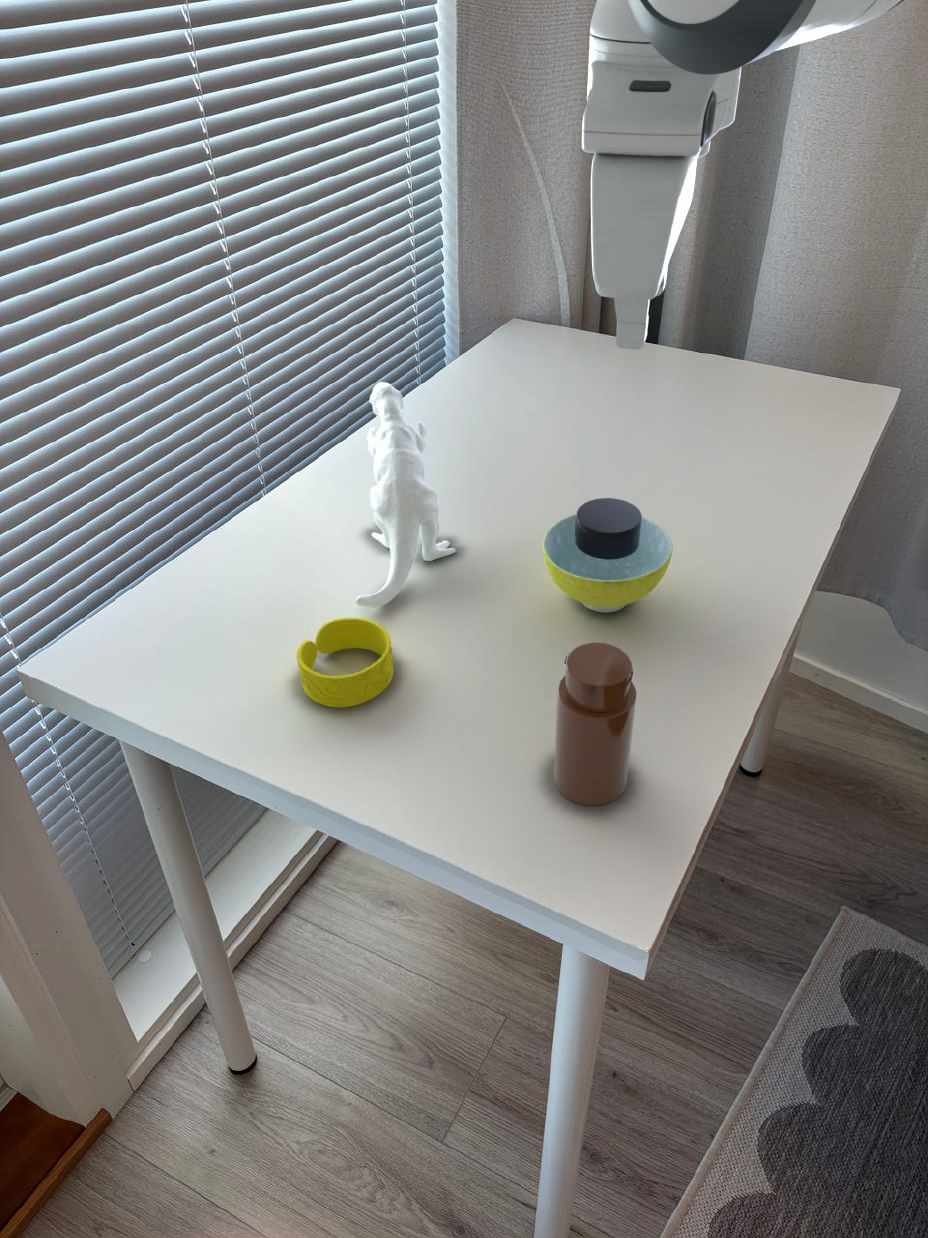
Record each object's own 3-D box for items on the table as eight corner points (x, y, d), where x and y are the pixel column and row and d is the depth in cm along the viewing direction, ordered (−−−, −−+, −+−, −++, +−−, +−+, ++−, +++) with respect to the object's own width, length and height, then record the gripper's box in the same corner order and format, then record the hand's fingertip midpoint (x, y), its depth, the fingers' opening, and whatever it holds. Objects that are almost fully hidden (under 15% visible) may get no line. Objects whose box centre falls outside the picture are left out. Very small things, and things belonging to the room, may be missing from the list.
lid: (568, 554, 83) (569, 527, 81) (581, 520, 87) (582, 494, 85) (633, 564, 82) (636, 536, 80) (643, 528, 86) (646, 502, 84)
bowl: (525, 574, 91) (525, 520, 87) (636, 553, 93) (641, 499, 89) (565, 648, 83) (568, 591, 79) (686, 623, 85) (695, 566, 81)
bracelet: (410, 663, 82) (408, 633, 80) (355, 720, 77) (351, 691, 75) (342, 635, 85) (338, 607, 83) (285, 689, 80) (279, 660, 78)
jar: (631, 759, 72) (645, 644, 65) (620, 813, 68) (632, 697, 61) (562, 746, 74) (567, 631, 66) (546, 797, 70) (550, 682, 62)
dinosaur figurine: (381, 504, 102) (368, 374, 93) (469, 510, 100) (464, 379, 91) (327, 619, 87) (305, 479, 77) (430, 629, 85) (420, 486, 76)
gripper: (635, 57, 65) (620, 263, 73) (575, 125, 49) (566, 374, 58) (730, 58, 63) (703, 268, 72) (698, 129, 48) (670, 384, 57)
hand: (641, 317), depth 65 cm, fingers open, 8 cm apart
